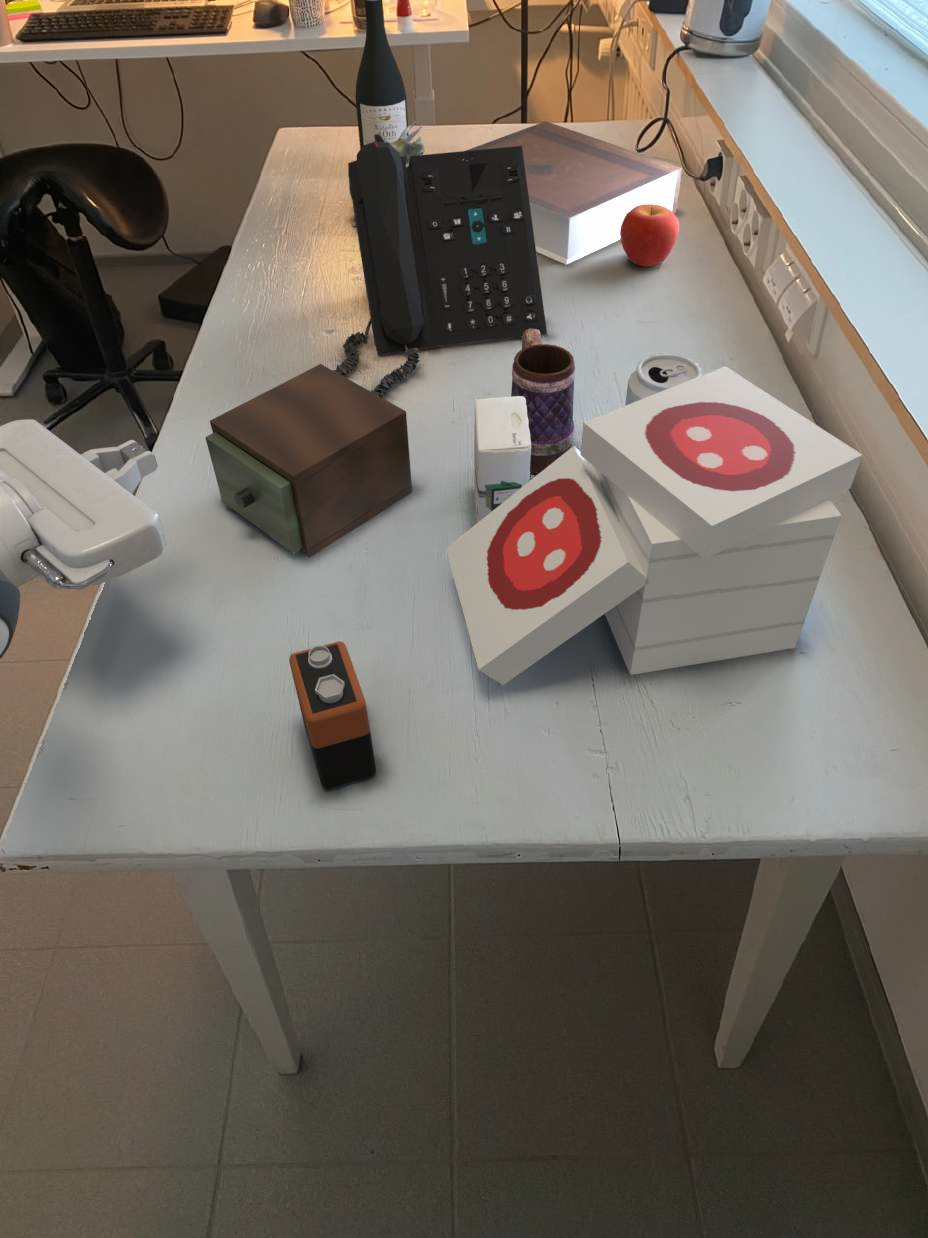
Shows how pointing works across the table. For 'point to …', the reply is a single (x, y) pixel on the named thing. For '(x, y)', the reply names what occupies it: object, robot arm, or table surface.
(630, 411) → the pizza boxes
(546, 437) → the mug
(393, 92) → the wine bottle
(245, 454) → the drawer
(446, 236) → the office phone
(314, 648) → the battery
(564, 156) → the book
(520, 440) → the ink box
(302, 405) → the cabinet
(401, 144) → the toy dinosaur
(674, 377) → the can
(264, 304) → the table surface
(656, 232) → the apple
